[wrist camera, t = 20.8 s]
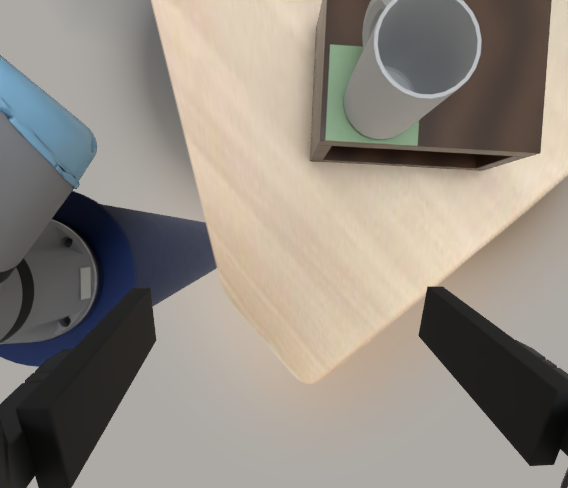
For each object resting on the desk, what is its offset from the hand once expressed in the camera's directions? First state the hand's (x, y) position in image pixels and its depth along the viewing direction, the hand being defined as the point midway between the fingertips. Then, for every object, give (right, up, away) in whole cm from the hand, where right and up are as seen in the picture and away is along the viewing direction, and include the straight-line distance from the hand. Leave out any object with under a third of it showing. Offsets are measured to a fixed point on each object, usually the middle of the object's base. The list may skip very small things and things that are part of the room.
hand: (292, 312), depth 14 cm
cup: (+8, +18, +14) cm, 25 cm away
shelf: (+14, +21, +23) cm, 34 cm away
